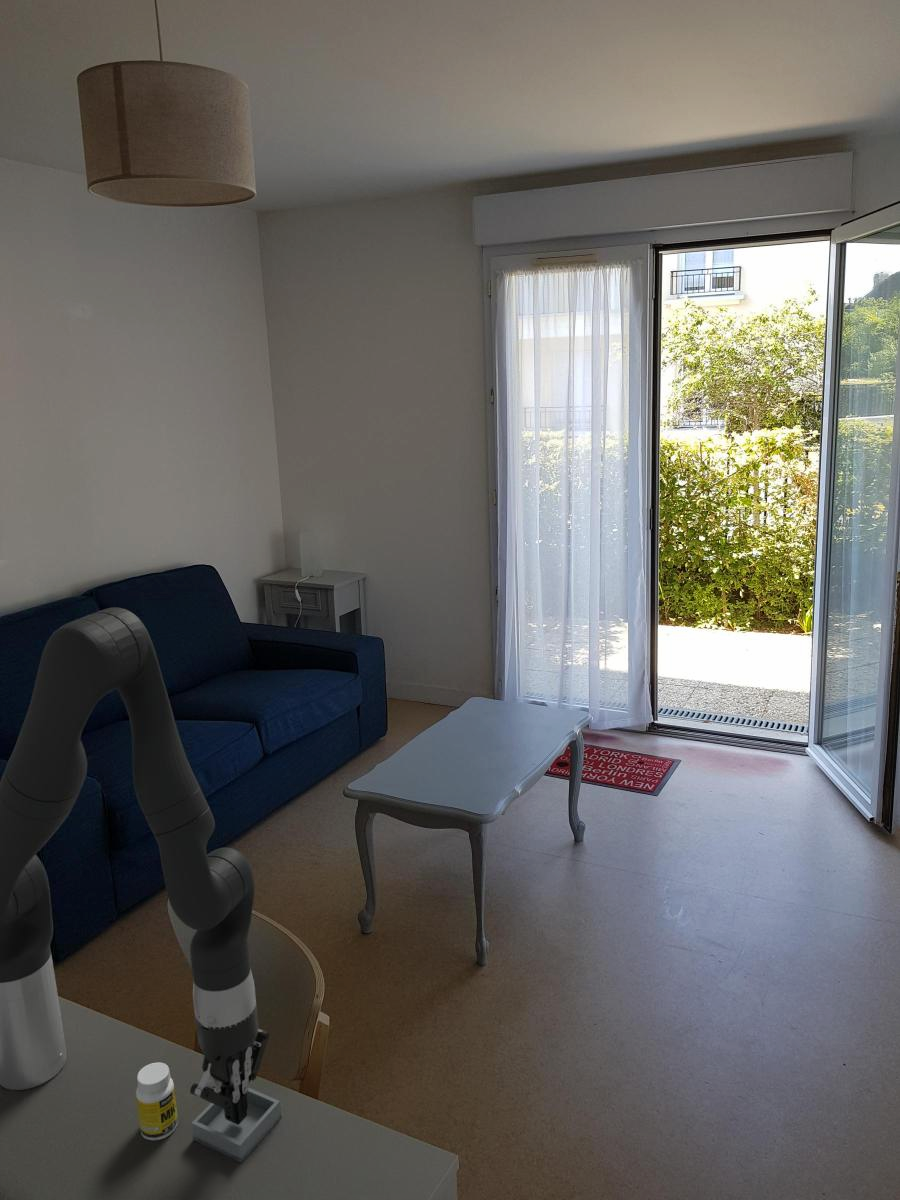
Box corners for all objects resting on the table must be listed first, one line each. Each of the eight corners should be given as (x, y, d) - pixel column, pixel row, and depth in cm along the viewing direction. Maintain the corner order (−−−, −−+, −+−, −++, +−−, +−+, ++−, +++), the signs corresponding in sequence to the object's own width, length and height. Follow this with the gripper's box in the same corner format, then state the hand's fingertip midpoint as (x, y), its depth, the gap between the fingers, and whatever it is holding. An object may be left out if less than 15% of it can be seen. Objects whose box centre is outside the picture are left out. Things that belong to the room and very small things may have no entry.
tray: (193, 1139, 120) (191, 1122, 119) (234, 1096, 126) (232, 1080, 126) (241, 1162, 116) (239, 1145, 115) (281, 1117, 123) (280, 1100, 122)
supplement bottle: (167, 1144, 119) (160, 1089, 117) (133, 1139, 120) (126, 1084, 118) (184, 1115, 123) (178, 1062, 121) (152, 1110, 124) (145, 1057, 122)
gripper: (237, 966, 124) (247, 1075, 128) (164, 1028, 113) (179, 1145, 117) (282, 982, 120) (291, 1093, 125) (212, 1047, 109) (225, 1168, 113)
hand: (236, 1118), depth 121 cm, fingers closed
